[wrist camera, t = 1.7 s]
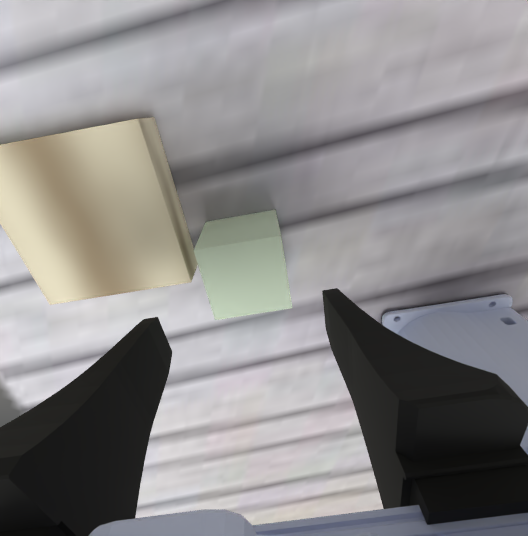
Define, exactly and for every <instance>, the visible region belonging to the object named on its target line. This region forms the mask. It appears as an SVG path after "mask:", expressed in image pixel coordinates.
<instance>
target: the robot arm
mask: <svg viewBox="0 0 528 536" xmlns="http://www.w3.org/2000/svg"><path fill="white" fill-rule="evenodd" d="M512 301H513V299H512V297H511V296H509V295H507V294H502V295H495V296H489V297H482V298H476V299H469V300H463V301H456V302H450V303H443V304H437V305H431V306H424V307H418V308H411V309H405V310H398V311H392V312H387V313H385V314H384V315H383V316H382V324H380V323H379V322H377V321H376V320H375V319H373V318H372V317H371V316H369V315H368V314H367V313H365V312H364V311H363V310H362V309H360V308H359V307H358V306H357V305H355V304H354V303H353V302H352V301H351V300H350V299H349V298H347V297H346V296H345V295H344V294H343V293H342V292H341V291H340V290H338V289H337V288H336V289H330V290H323V302H324V313H325V325H326V331H327V334H328V338H329V342H330V345H331V349H332V351H333V354H334V356H335V359H336V361H337V364H338V366H339V368H340V371H341V373H342V376H343V378H344V380H345V383H346V385H347V388H348V390H349V393H350V395H351V398H352V401H353V403H354V406H355V410H356V413H357V416H358V419H359V423H360V426H361V429H362V433H363V436H364V440H365V443H366V446H367V450H368V453H369V457H370V460H371V464H372V468H373V471H374V475H375V478H376V482H377V485H378V489H379V493H380V497H381V500H382V504H383V508H384V509H381V510H373V511H365V512H357V513H349V514H341V515H333V516H325V517H317V518H309V519H301V520H292V521H284V522H276V523H268V524H260V525H251V524H250V523H249V522H248V521H247V520H246V519H245V518H244V517H243V516H242V515H241V514H238V513H234V512H231V511H228V510H197V511H190V512H182V513H174V514H166V515H158V516H150V517H143V518H135V515H136V508H137V502H138V495H139V489H140V482H141V477H142V471H143V466H144V460H145V455H146V451H147V446H148V441H149V436H150V432H151V428H152V425H153V421H154V418H155V415H156V412H157V409H158V406H159V403H160V400H161V396H162V393H163V390H164V387H165V384H166V381H167V377H168V374H169V369H170V363H171V357H172V350H171V348H170V346H169V343H168V341H167V338H166V336H165V334H164V331H163V329H162V326H161V324H160V322H159V319H158V317H155V318H148V319H144V320H142V321H141V322H140V323H139V324H138V325H136V326H135V327H134V328H133V329H132V330H131V331H130V332H129V333H128V334H127V335H126V336H125V337H123V338H122V339H121V340H120V341H119V342H118V343H117V344H116V345H115V346H114V347H113V348H112V349H110V350H109V351H108V352H107V353H106V354H105V355H104V356H103V357H101V358H100V359H99V360H98V361H97V362H96V363H94V364H93V365H92V366H91V367H90V368H89V369H87V370H86V371H85V372H84V373H82V374H81V375H80V376H79V377H77V378H76V379H75V380H73V381H72V382H71V383H69V384H68V385H67V386H65V387H64V388H63V389H61V390H60V391H58V392H57V393H55V394H54V395H52V396H51V397H49V398H48V399H46V400H45V401H43V402H42V403H40V404H39V405H37V406H36V407H34V408H32V409H31V410H29V411H28V412H26V413H24V414H23V415H21V416H19V417H18V418H16V419H14V420H12V421H11V422H9V423H7V424H5V425H4V426H2V427H0V536H528V320H526V319H525V318H524V317H522V316H521V315H520V314H518V313H517V312H516V311H515V310H513V309H512V308H511V305H512ZM489 303H490V304H489ZM396 316H398V317H397V318H395V317H396ZM394 318H395V319H394Z"/></svg>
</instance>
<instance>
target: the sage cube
mask: <svg viewBox="0 0 528 536" xmlns="http://www.w3.org/2000/svg"><path fill="white" fill-rule="evenodd" d="M194 253H195V257H196V260H197V263H198V266H199V269H200V273H201V276H202V279H203V282H204V286H205V289H206V292H207V295H208V299H209V302H210V305H211V308H212V312H213V315H214V318H215V320H220V319H226V318H232V317H239V316H245V315H251V314H258V313H264V312H271V311H277V310H283V309H290V308H292V303H291V296H290V290H289V283H288V277H287V270H286V264H285V257H284V251H283V244H282V238H281V233H280V228H279V223H278V219H277V214H276V210H270V211H264V212H258V213H253V214H247V215H241V216H236V217H230V218H224V219H219V220H213V221H207V222H206V223H205V225H204V227H203V230H202V232H201V234H200V237H199V239H198V241H197V244H196V246H195V248H194Z"/></svg>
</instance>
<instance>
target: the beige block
mask: <svg viewBox="0 0 528 536" xmlns="http://www.w3.org/2000/svg"><path fill="white" fill-rule="evenodd" d="M0 224H1V225H2V227H3V229H4V230H5V232H6V234H7V235H8V237H9V238H10V240H11V242H12V243H13V245H14V247H15V248H16V250H17V252H18V253H19V255H20V256H21V258H22V260H23V261H24V263H25V265H26V266H27V268H28V270H29V271H30V273H31V274H32V276H33V278H34V279H35V281H36V283H37V284H38V286H39V288H40V289H41V291H42V293H43V294H44V296H45V297H46V299H47V301H48V302H49V304H50V305H53V304H59V303H65V302H71V301H77V300H84V299H90V298H96V297H102V296H109V295H115V294H121V293H127V292H133V291H140V290H146V289H152V288H158V287H165V286H171V285H177V284H183V283H189V282H191V281H192V279H193V276H194V273H195V270H196V268H197V265H198V263H197V260H196V257H195V253H194V247H193V244H192V241H191V237H190V234H189V231H188V227H187V224H186V221H185V218H184V214H183V211H182V208H181V204H180V201H179V198H178V194H177V191H176V188H175V185H174V181H173V178H172V175H171V171H170V168H169V165H168V161H167V158H166V155H165V152H164V148H163V145H162V142H161V138H160V135H159V132H158V129H157V125H156V122H155V119H154V117H153V118H139V119H133V120H128V121H122V122H117V123H112V124H107V125H101V126H96V127H91V128H86V129H80V130H75V131H70V132H65V133H59V134H54V135H49V136H44V137H38V138H33V139H28V140H22V141H17V142H12V143H7V144H1V145H0Z"/></svg>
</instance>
